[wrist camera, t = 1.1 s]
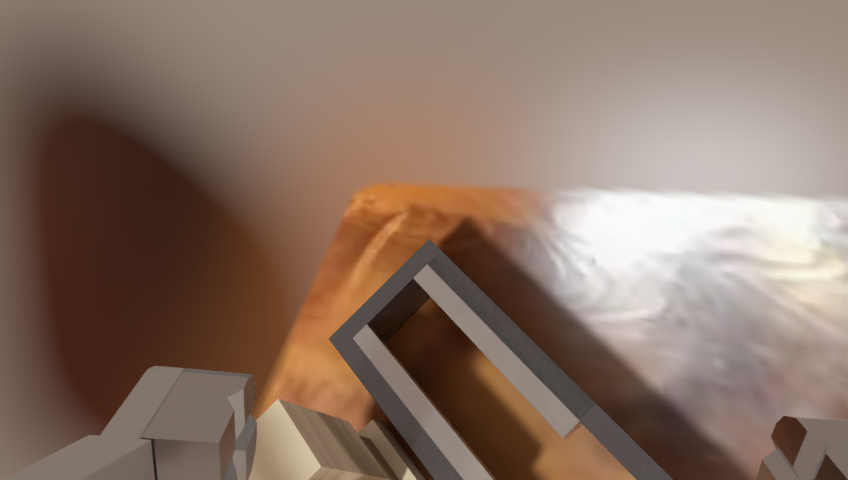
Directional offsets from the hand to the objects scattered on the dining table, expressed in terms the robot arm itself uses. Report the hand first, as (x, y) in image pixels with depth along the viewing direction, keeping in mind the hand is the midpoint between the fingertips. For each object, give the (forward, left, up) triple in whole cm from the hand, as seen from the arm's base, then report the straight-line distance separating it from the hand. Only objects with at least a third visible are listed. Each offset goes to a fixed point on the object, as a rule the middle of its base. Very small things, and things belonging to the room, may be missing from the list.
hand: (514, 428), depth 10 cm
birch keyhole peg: (+14, -14, -35) cm, 40 cm away
